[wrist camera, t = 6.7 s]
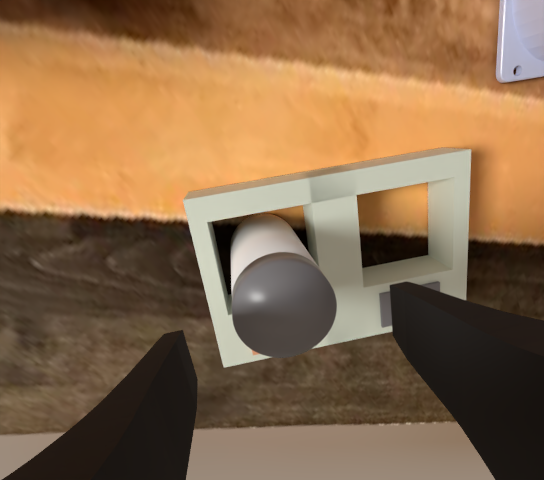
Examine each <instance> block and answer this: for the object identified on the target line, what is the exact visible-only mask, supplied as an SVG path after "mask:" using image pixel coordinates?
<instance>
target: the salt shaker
mask: <svg viewBox="0 0 544 480" xmlns="http://www.w3.org/2000/svg"><path fill="white" fill-rule="evenodd" d="M230 250H231V290H232V320H233V325H234V328H235V331H236V333H237V335H238V336H239V338H240V339H241V341H242V342H243V343H244V344H245V345H246V346H247V347H249V348H250V349H252V350H253V351H255V352H257V353H259V354H262V355H265V356H268V357H276V358H284V357H292V356H296V355H299V354H302V353H304V352H307V351H308V350H310V349H312V348H313V347H315V346H316V345H318V344H319V343H320V342H321V341H322V340H323V339H324V338H325V337H326V335H327V334H328V332H329V331H330V329H331V327H332V325H333V323H334V320H335V317H336V311H337V301H336V296H335V293H334V290H333V288H332V286H331V285H330V283H329V281H328V280H327V279H326V277H325V276H324V274H323V273H322V271H321V270H320V268H319V267H318V265H317V264H316V263H315V261H314V260H313V258H312V257H311V255H310V254H309V252H308V251H307V250H306V248H305V247H304V245H303V244H302V242H301V241H300V239H299V238H298V236H297V235H296V234H295V232H294V231H293V229H292V228H291V226H290V225H289V224H288V223H287V222H286V221H285V220H283V219H282V218H280V217H278V216H276V215H272V214H256V215H253V216H250V217H248V218H247V219H245V220H244V221H242V222H241V223H240V224H239V225H238V226H237V228H236V229H235V231H234V232H233V235H232V238H231V244H230Z"/></svg>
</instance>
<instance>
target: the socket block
mask: <svg viewBox="0 0 544 480" xmlns="http://www.w3.org/2000/svg"><path fill="white" fill-rule="evenodd" d="M470 173H471V149H458V148H437V149H431V150H425V151H420V152H414V153H408V154H402V155H397V156H391V157H385V158H380V159H374V160H368V161H362V162H357V163H351V164H345V165H340V166H334V167H328V168H322V169H317V170H311V171H305V172H300V173H294V174H288V175H282V176H277V177H271V178H265V179H260V180H254V181H248V182H242V183H237V184H231V185H225V186H220V187H214V188H208V189H202V190H197V191H191V192H188V194H187V195H186V196H185V198H184V199H183V202H184V207H185V211H186V215H187V219H188V223H189V227H190V231H191V235H192V239H193V243H194V247H195V252H196V256H197V260H198V264H199V268H200V272H201V276H202V280H203V284H204V288H205V293H206V297H207V301H208V305H209V309H210V313H211V317H212V321H213V325H214V329H215V333H216V338H217V342H218V346H219V350H220V354H221V358H222V362H223V366H224V367H229V366H234V365H238V364H243V363H248V362H252V361H257V360H262V359H266V358H271V357H268V356H265V355H262V354H259V353H257V352H255V351H253V350H252V349H250V348H249V347H247V346H246V345H245V344H244V343H243V342H242V341H241V339H240V338H239V336H238V335H237V333H236V331H235V328H234V325H233V320H232V294H230V295H228V293H227V288H226V284H225V279H224V275H223V270H222V265H221V261H220V256H219V252H218V247H217V243H216V238H215V234H214V229H213V225H212V221H217V220H222V219H228V218H233V217H239V216H244V215H250V214H255V213H261V212H266V211H272V210H277V209H283V208H288V207H294V206H299V205H303V211H304V219H305V227H306V234H307V242H308V250H309V254H310V255H311V257H312V258H313V260H314V261H315V263H316V264H317V265H318V267H319V268H320V270H321V271H322V273H323V274H324V276H325V277H326V279H327V280H328V281H329V283H330V285H331V286H332V288H333V290H334V293H335V296H336V301H337V311H336V317H335V320H334V323H333V325H332V327H331V329H330V331H329V332H328V334H327V335H326V337H325V338H324V339H323V340H322V341H321V342H320V343H319V344H318V345H316V346H315V347H313V348H317V347H322V346H327V345H331V344H336V343H341V342H345V341H350V340H355V339H359V338H364V337H368V336H373V335H378V334H382V333H387V332H392V315H391V299H390V285H392V284H397V283H401V282H406V281H407V282H411V283H415V284H418V285H421V286H425V287H428V288H431V289H433V290H436V291H439V292H442V293H445V294H448V295H451V296H454V297H457V298H460V299H463V300H466V289H467V260H468V231H469V202H470ZM425 182H428V255H426V256H421V257H416V258H411V259H406V260H401V261H396V262H391V263H386V264H381V265H376V266H370V267H365V268H362V260H361V247H360V233H359V220H358V207H357V195H359V194H365V193H370V192H376V191H381V190H387V189H392V188H398V187H403V186H409V185H414V184H420V183H425ZM313 348H312V349H313Z"/></svg>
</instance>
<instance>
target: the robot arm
mask: <svg viewBox="0 0 544 480" xmlns="http://www.w3.org/2000/svg"><path fill="white" fill-rule="evenodd" d="M514 68H516V74H515V75H514V73H513V70H514ZM543 76H544V0H500V9H499V28H498V46H497V65H496V78H497V80H498V81H499V82H500V83H506V82H512V81H519V80H525V79H531V78H537V77H543ZM390 299H391V315H392V331H393V336H394V338H395V340H396V342H397V343H398V345H399V347H400V348H401V350H402V352H403V353H404V355H405V356H406V358H407V360H408V361H409V362H410V363H411V365H412V366H413V367H414V368H415V370H416V371H417V372H418V373H419V375H420V376H421V377H422V378H423V380H424V381H425V382H426V383H427V385H428V386H429V387H430V388H431V390H432V391H433V392H434V393H435V395H436V396H437V397H438V398H439V399H440V401H441V402H442V403H443V404H444V406H445V407H446V408H447V409H448V411H449V412H450V413H451V414H452V416H453V417H454V418H455V420H456V421H457V422H458V424H459V425H460V426H461V428H462V429H463V431H464V432H465V434H466V435H467V437H468V438H469V440H470V441H471V443H472V444H473V446H474V447H475V449H476V450H477V452H478V453H479V455H480V456H481V458H482V459H483V461H484V462H485V464H486V466H487V467H488V469H489V470H490V472H491V473H492V475H493V476H494V478H495V480H544V321H543V320H538V319H533V318H529V317H524V316H520V315H515V314H511V313H507V312H503V311H500V310H496V309H493V308H489V307H486V306H482V305H479V304H476V303H472V302H469V301H466V300H463V299H460V298H457V297H454V296H451V295H448V294H445V293H442V292H439V291H436V290H433V289H431V288H428V287H425V286H421V285H418V284H415V283H411V282H407V281H406V282H401V283H397V284H392V285H390ZM196 410H197V376H196V373H195V370H194V366H193V363H192V360H191V356H190V353H189V350H188V346H187V343H186V340H185V336H184V333H183V330H180V331H175V332H171V333H166V334H164V335H163V336H162V337H161V338H160V339H159V340H158V341H157V342H156V343H155V344H154V346H153V347H152V348H151V349H150V350H149V351H148V352H147V354H146V355H145V356H144V357H143V358H142V359H141V360H140V362H139V363H138V364H137V365H136V366H135V367H134V368H133V369H132V370H131V372H130V373H129V374H128V375H127V376H126V377H125V378H124V379H123V380H122V381H121V382H120V383H119V384H118V385H117V386H116V387H115V388H114V389H113V390H112V391H111V392H110V393H109V394H108V395H107V396H106V397H105V398H104V399H103V400H102V401H101V402H100V403H99V404H98V405H97V406H96V407H95V408H94V409H93V410H92V411H91V412H89V413H88V414H87V415H86V416H85V417H84V418H83V419H81V420H80V421H79V422H78V423H77V424H76V425H74V426H73V427H72V428H71V429H70V430H68V431H67V432H66V433H65V434H63V435H62V436H61V437H59V438H58V439H57V440H56V441H54V442H53V443H52V444H50V445H49V446H48V447H47V448H45V449H44V450H43V451H42V452H40V453H39V454H38V455H36V456H35V457H34V458H32V459H31V460H30V461H28V462H27V463H25V464H24V465H22V466H21V467H20V468H18V469H17V470H15V471H14V472H13V473H11V474H10V475H8V476H7V477H5V478H4V479H2V480H186V475H187V468H188V462H189V455H190V449H191V443H192V437H193V430H194V423H195V417H196Z"/></svg>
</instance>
